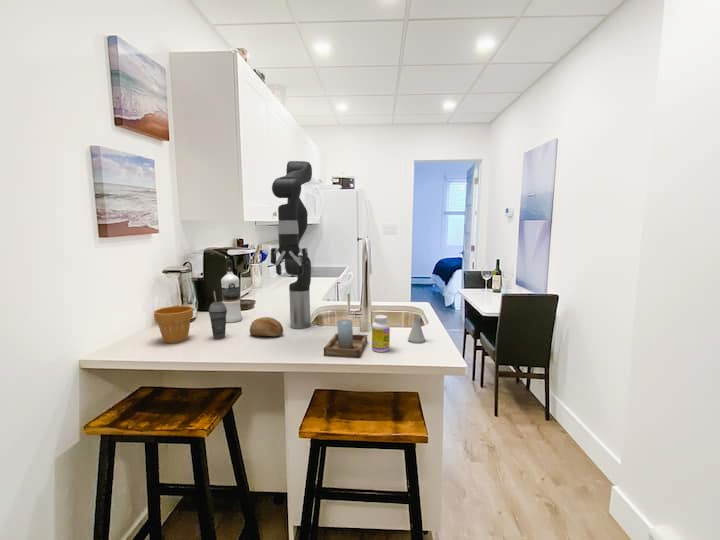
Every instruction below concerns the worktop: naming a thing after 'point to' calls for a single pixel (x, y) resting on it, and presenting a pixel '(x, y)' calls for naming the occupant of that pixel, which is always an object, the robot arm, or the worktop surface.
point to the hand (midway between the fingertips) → (290, 275)
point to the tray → (355, 352)
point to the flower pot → (174, 322)
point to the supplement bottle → (380, 334)
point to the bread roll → (266, 327)
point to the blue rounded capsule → (345, 334)
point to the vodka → (231, 295)
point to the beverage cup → (218, 318)
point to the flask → (416, 331)
